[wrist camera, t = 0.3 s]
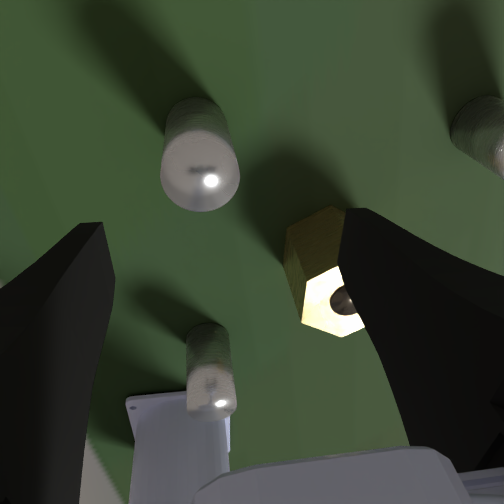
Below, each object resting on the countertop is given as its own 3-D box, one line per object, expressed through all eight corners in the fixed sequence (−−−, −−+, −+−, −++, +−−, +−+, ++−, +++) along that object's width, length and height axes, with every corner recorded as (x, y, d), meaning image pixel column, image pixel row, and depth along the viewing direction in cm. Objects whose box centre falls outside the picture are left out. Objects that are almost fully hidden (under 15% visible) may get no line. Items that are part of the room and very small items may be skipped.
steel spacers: (419, 333, 31) (458, 394, 27) (187, 354, 29) (188, 424, 25) (514, 95, 21) (602, 131, 16) (162, 97, 19) (156, 139, 14)
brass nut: (353, 278, 27) (384, 334, 23) (281, 283, 26) (299, 342, 22) (371, 202, 24) (410, 253, 20) (288, 206, 23) (311, 259, 19)
